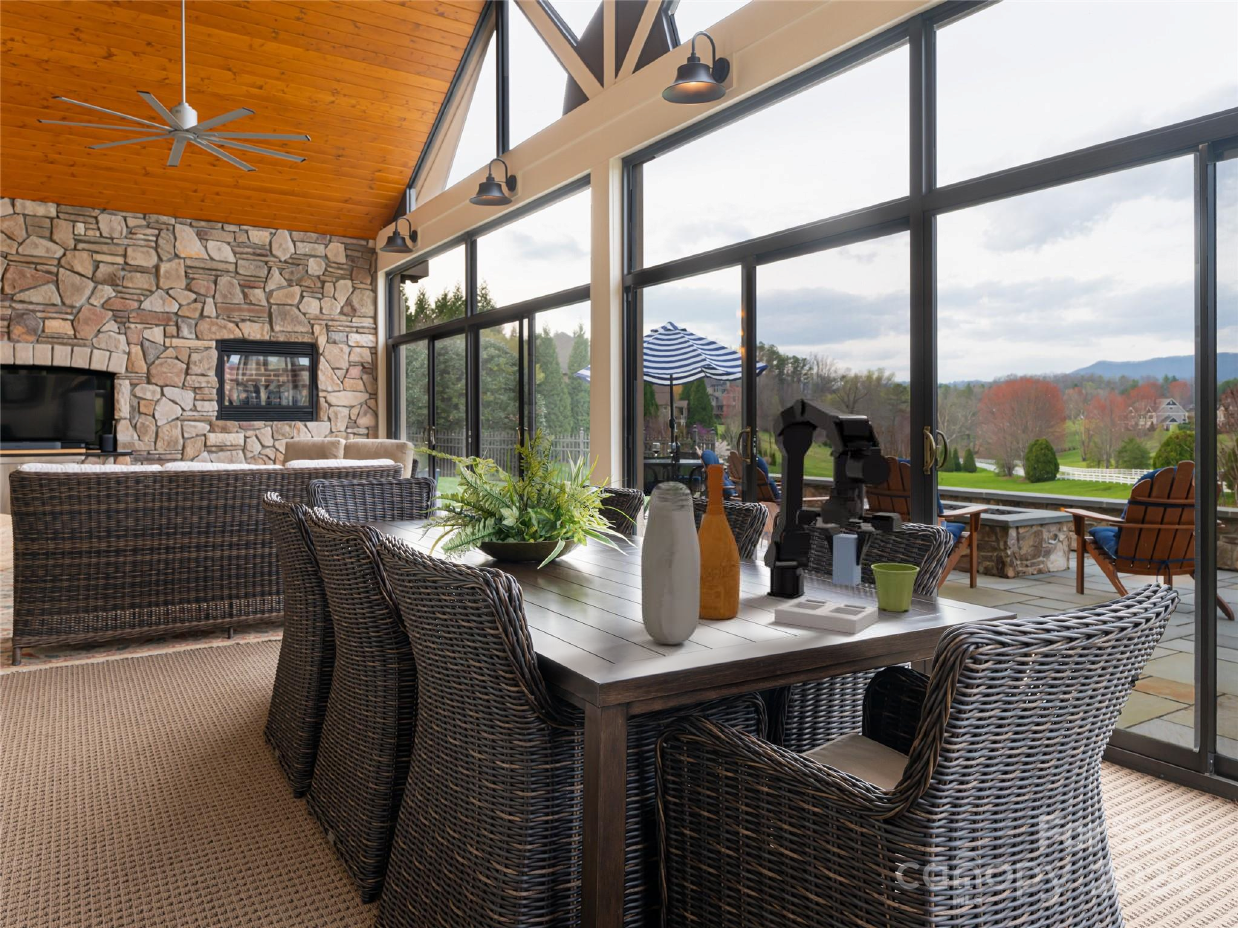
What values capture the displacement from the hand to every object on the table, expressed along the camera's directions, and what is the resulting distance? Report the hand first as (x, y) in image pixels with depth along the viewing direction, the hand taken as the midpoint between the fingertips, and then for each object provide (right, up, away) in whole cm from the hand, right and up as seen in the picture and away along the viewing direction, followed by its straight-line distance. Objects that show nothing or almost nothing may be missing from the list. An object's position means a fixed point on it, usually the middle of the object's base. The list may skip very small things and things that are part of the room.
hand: (847, 564), depth 163 cm
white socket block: (-3, -11, +3) cm, 12 cm away
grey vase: (-34, -12, -13) cm, 39 cm away
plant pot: (+13, -11, +14) cm, 22 cm away
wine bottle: (-24, -11, +8) cm, 28 cm away
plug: (0, -4, 0) cm, 4 cm away
